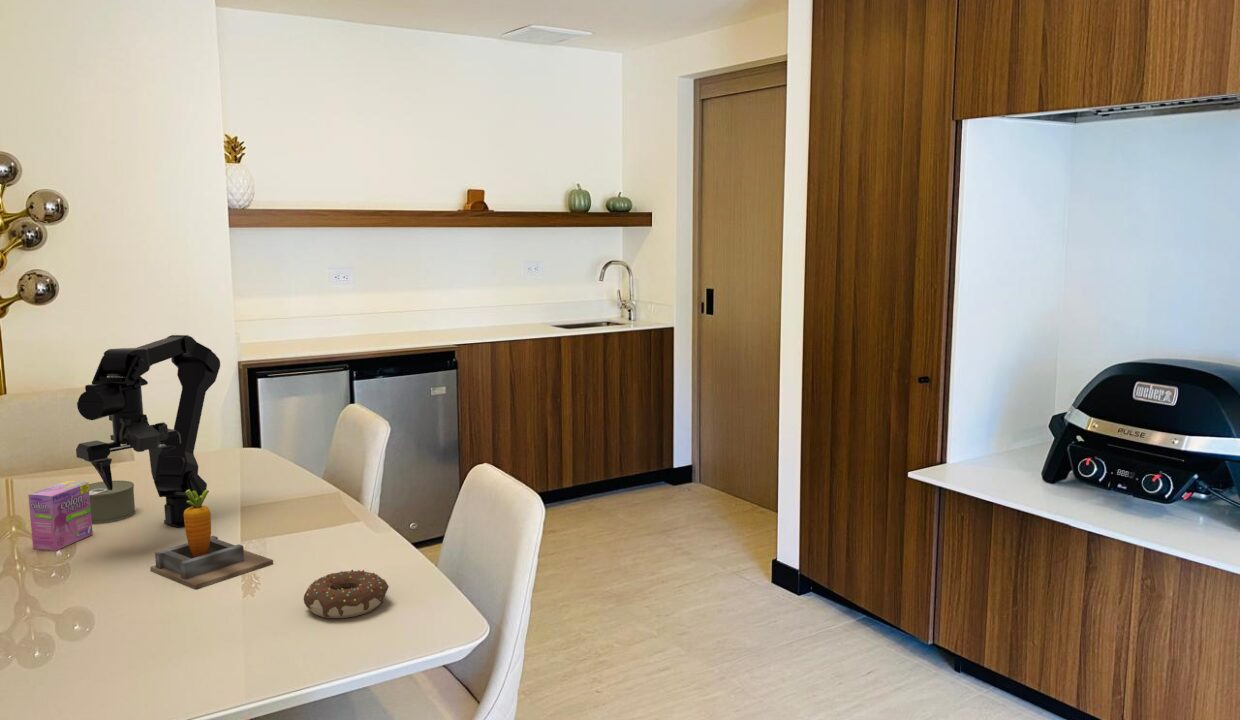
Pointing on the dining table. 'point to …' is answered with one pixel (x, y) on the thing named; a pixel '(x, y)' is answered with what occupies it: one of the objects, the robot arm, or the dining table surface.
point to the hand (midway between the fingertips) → (133, 484)
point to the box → (60, 515)
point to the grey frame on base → (206, 563)
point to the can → (111, 502)
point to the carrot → (197, 524)
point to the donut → (345, 594)
